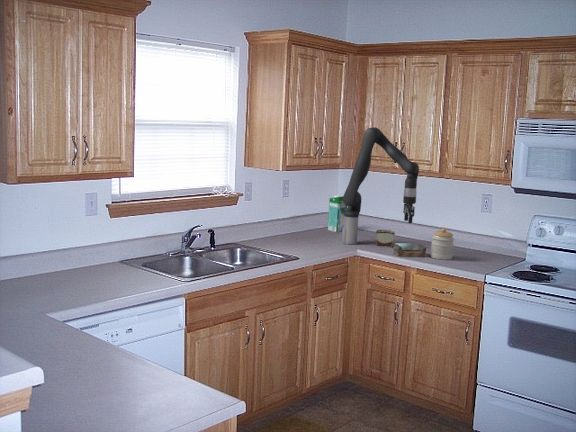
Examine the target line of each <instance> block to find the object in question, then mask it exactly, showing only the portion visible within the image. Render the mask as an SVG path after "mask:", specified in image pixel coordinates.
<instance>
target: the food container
mask: <svg viewBox="0 0 576 432" xmlns="http://www.w3.org/2000/svg"><path fill="white" fill-rule="evenodd" d="M374 234H375V235H376V236H375V237H376V246H377V247H379V246H384V248H392V247H393V245H394V244H393V242H394V237H395V236H396V233H395V231H394V230H391V229H376V231H375V233H374ZM385 246H386V247H385Z"/></svg>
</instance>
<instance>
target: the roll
mask: <svg viewBox="0 0 576 432" xmlns="http://www.w3.org/2000/svg"><path fill="white" fill-rule="evenodd" d="M395 244H398V245H399V246H401V247H402V249H413V250H414V244H413V243H401V242H398V243H397V242H396V243H395Z"/></svg>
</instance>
